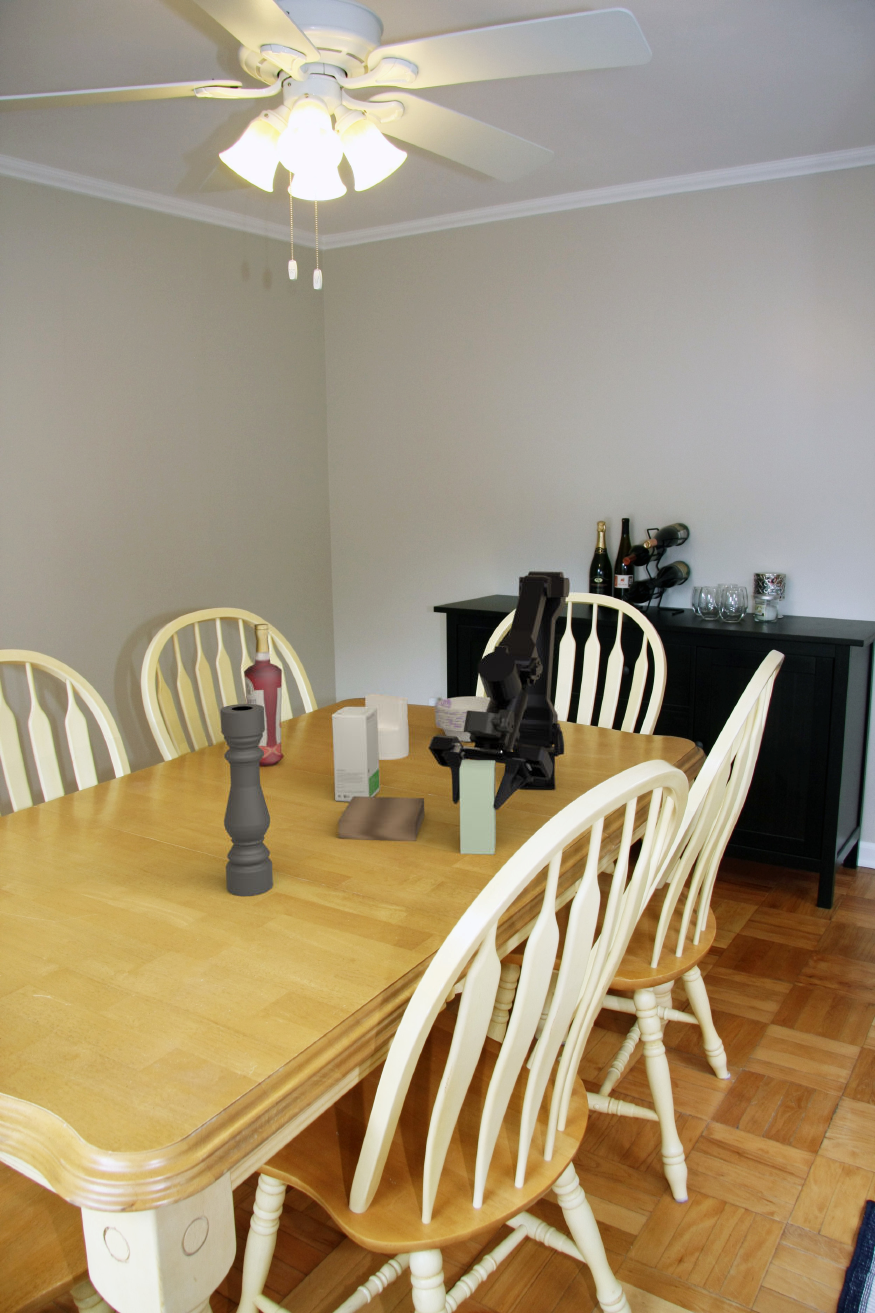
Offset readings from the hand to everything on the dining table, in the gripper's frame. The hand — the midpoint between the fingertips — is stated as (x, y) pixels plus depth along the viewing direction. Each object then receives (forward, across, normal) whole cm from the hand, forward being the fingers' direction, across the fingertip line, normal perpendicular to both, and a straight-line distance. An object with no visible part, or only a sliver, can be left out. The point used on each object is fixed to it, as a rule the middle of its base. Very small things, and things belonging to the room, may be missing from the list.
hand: (474, 805), depth 142 cm
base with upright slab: (-25, -39, +35) cm, 58 cm away
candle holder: (+23, -22, -12) cm, 34 cm away
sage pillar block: (+4, 0, +6) cm, 7 cm away
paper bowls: (-39, -29, +49) cm, 69 cm away
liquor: (-13, -57, +24) cm, 63 cm away
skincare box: (-6, -30, +16) cm, 35 cm away
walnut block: (+2, -18, +8) cm, 19 cm away
